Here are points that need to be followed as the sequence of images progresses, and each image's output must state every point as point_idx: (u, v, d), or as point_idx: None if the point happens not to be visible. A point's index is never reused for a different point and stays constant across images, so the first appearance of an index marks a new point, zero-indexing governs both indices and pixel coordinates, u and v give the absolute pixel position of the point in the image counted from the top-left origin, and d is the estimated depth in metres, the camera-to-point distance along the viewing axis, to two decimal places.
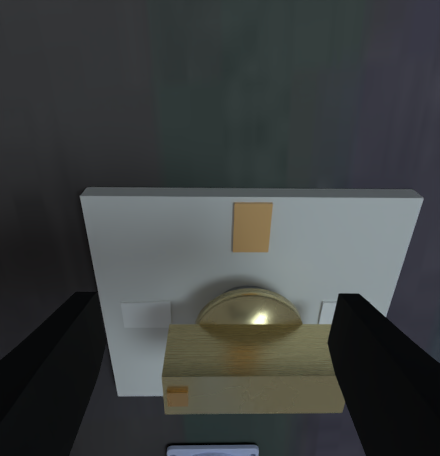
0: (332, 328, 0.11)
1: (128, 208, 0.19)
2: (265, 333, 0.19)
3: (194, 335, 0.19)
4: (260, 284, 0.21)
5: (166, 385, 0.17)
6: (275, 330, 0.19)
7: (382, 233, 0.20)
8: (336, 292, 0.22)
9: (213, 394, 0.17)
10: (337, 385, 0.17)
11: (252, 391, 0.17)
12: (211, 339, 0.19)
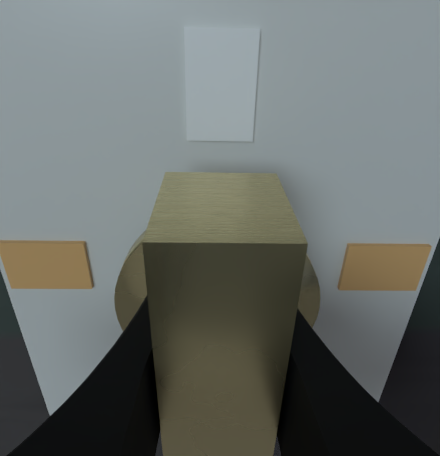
0: None
1: (54, 383, 0.16)
2: None
3: None
4: None
5: None
6: None
7: (3, 38, 0.10)
8: (164, 112, 0.11)
9: None
10: (183, 271, 0.06)
11: (205, 415, 0.08)
12: None
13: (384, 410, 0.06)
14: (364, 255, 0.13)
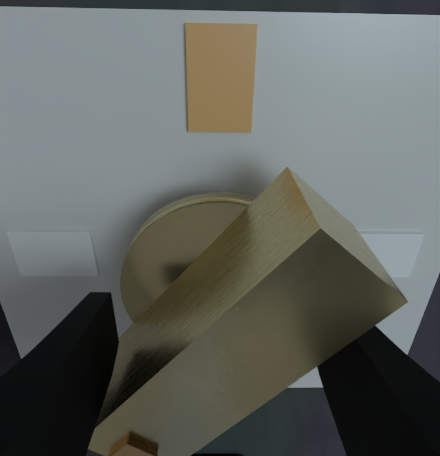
0: None
1: None
2: (198, 269, 0.10)
3: (125, 344, 0.12)
4: None
5: (99, 449, 0.10)
6: (210, 252, 0.10)
7: None
8: (366, 215, 0.13)
9: (164, 420, 0.09)
10: (320, 267, 0.07)
11: (205, 381, 0.09)
12: (139, 335, 0.11)
13: None
14: None
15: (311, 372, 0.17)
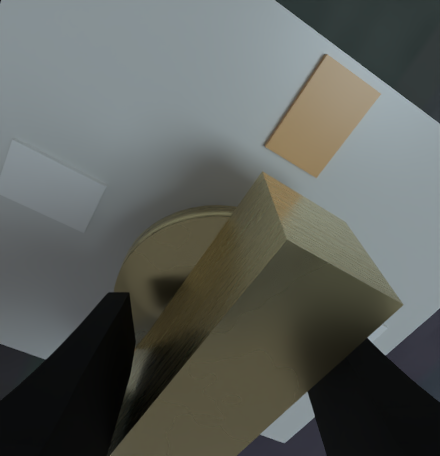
0: None
1: None
2: (187, 289, 0.10)
3: None
4: None
5: None
6: (197, 270, 0.10)
7: None
8: None
9: (169, 452, 0.09)
10: (296, 280, 0.07)
11: (201, 409, 0.08)
12: (139, 363, 0.11)
13: None
14: None
15: None
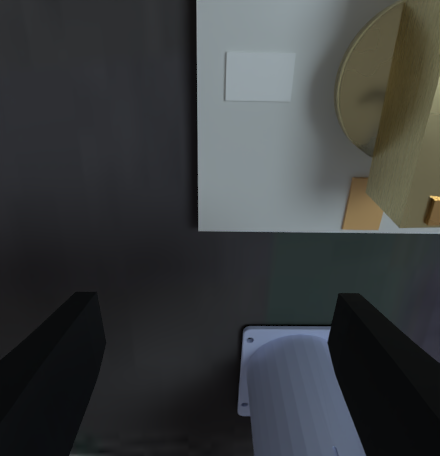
0: (332, 328, 0.11)
1: None
2: (398, 69, 0.13)
3: (379, 168, 0.15)
4: None
5: (416, 223, 0.13)
6: (399, 51, 0.13)
7: None
8: None
9: None
10: None
11: None
12: (386, 149, 0.14)
13: None
14: None
15: None
